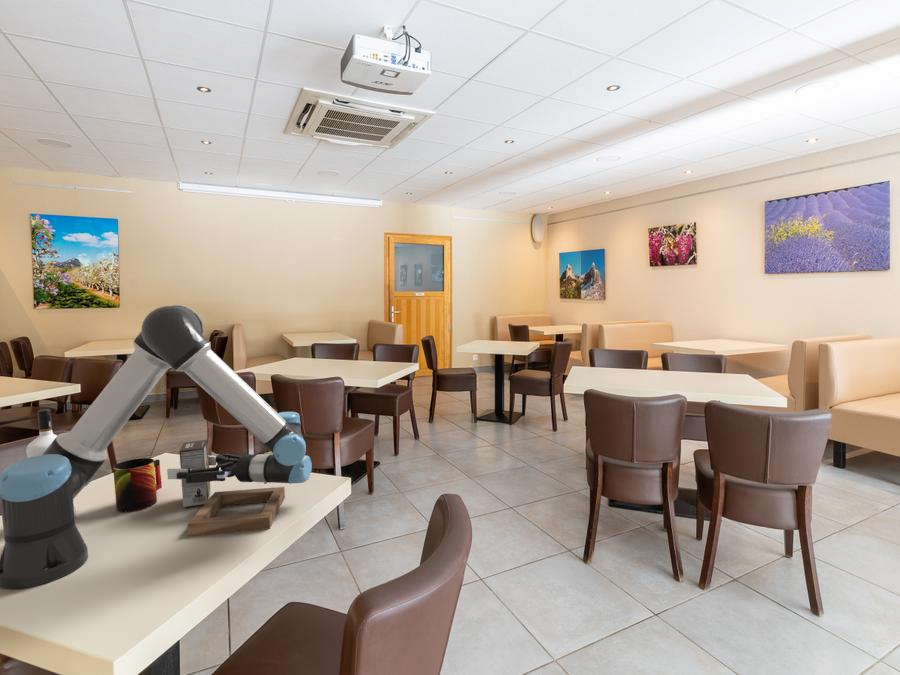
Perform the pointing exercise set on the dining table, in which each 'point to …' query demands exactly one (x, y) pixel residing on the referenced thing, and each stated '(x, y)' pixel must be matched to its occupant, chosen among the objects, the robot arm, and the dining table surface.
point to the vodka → (42, 436)
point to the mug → (136, 484)
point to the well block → (210, 525)
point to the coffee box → (195, 458)
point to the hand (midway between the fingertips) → (182, 466)
